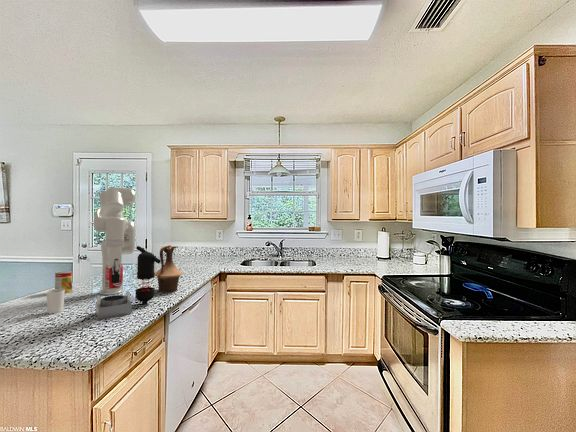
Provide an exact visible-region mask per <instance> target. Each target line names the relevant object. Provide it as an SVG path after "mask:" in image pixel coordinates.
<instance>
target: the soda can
mask: <svg viewBox="0 0 576 432" xmlns="http://www.w3.org/2000/svg"><path fill="white" fill-rule="evenodd" d="M114 263H115V262H114ZM107 264H108V263H107ZM119 266H120V265H119ZM114 267H115V266H113V268H114ZM119 271H120V282H119V283H111V276H112V268H111V269H109V268H108V265H106V269H105V288H107V289H110V290H112V289H119V288H120V287H121V288H123V283H124V282H123V280H124V279H123V278H124V267H123V264H122V263H121V267H120V268H119Z"/></svg>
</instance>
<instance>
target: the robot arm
mask: <svg viewBox="0 0 576 432" xmlns="http://www.w3.org/2000/svg"><path fill="white" fill-rule="evenodd" d="M135 202H136V193H135V190H134V189H133V188H128V187H115V186H113V187H109V188H107V189H106V190H104V191H101V192H100V193H99V203H100V205H101V206H100V207H98V208H97V209H96V211H95V212H94V215H93V229H94V231H96V232H97V233H98V232H99V233H104V235H105V240H103V241H101V245H100V250H101V256H102V259H101V260H102V268H101V269H102V272H101V273H102V275H101V276H102V277H101V278H102V279H101V281H102V282H101V290H99V291H98V294H99V295H100V296H102V295H103V296H113V295H119V294H121V293H123V292H125V289H124V288H123V287H120V288H119V289H112V290H110V289H107V288H105V269H106V265H108V268H109V269H111V268H112V276H111V283H119V282H120V271H119V268H120V267H121V264H122V255H123V256H124V255H132V254H133V253H134V252H135V251H136V226H135V223H134V221H132V220H128V219H127V218H126V217H125V216H122V212H123V210H124V207H125V206H126V207H130V206H133V205H134V203H135ZM114 262H115V263H114ZM107 263H108V264H107ZM119 265H120V266H119ZM113 266H115V267H114V268H113Z"/></svg>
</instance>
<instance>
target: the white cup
mask: <svg viewBox="0 0 576 432" xmlns="http://www.w3.org/2000/svg"><path fill="white" fill-rule="evenodd" d="M64 293H65V289H55V288H53V289H48V290H46V309H47V310H46V313H47V314H48V313H49V314H50V315H51V314H52V313H55V314H58V313H59V312H60V313H63V311H64V307H65V304H64V303H65V294H64ZM49 314H48V315H49ZM52 315H53V314H52Z"/></svg>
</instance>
